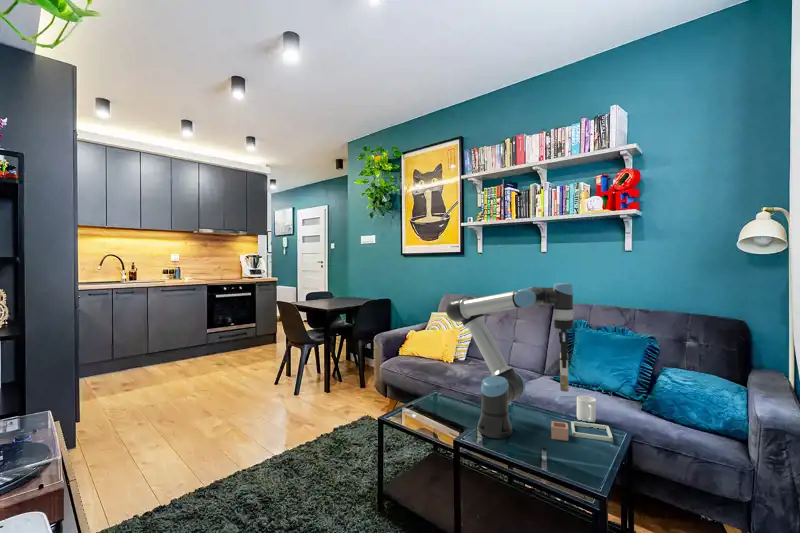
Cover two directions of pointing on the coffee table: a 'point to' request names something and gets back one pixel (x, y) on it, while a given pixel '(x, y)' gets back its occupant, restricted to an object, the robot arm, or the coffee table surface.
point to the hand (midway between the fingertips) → (564, 373)
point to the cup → (586, 408)
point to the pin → (563, 380)
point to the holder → (559, 430)
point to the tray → (591, 436)
